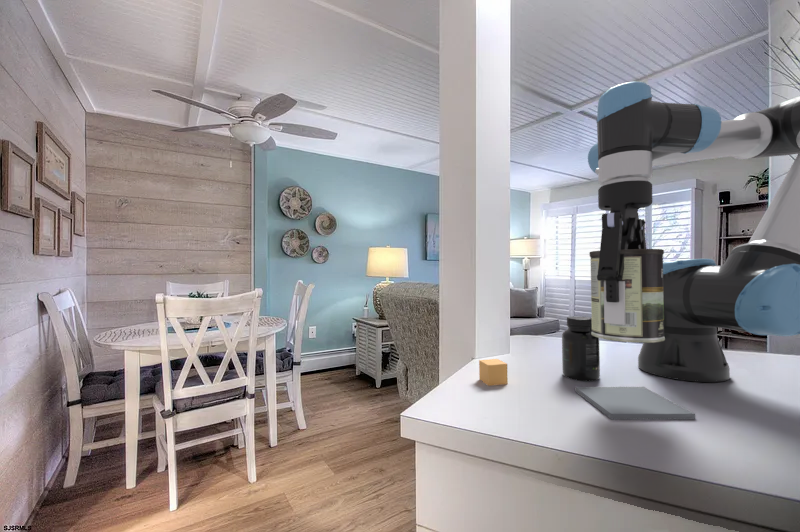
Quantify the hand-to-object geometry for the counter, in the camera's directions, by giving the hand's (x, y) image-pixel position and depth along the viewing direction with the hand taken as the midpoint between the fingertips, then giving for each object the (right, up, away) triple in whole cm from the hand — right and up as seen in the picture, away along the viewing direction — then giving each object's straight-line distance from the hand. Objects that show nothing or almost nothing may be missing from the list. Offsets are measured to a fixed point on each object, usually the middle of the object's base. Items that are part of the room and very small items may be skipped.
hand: (625, 320), depth 59 cm
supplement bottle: (0, -14, +15) cm, 20 cm away
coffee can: (0, -3, 0) cm, 3 cm away
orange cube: (-18, -14, +13) cm, 26 cm away
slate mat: (0, -14, 0) cm, 14 cm away
